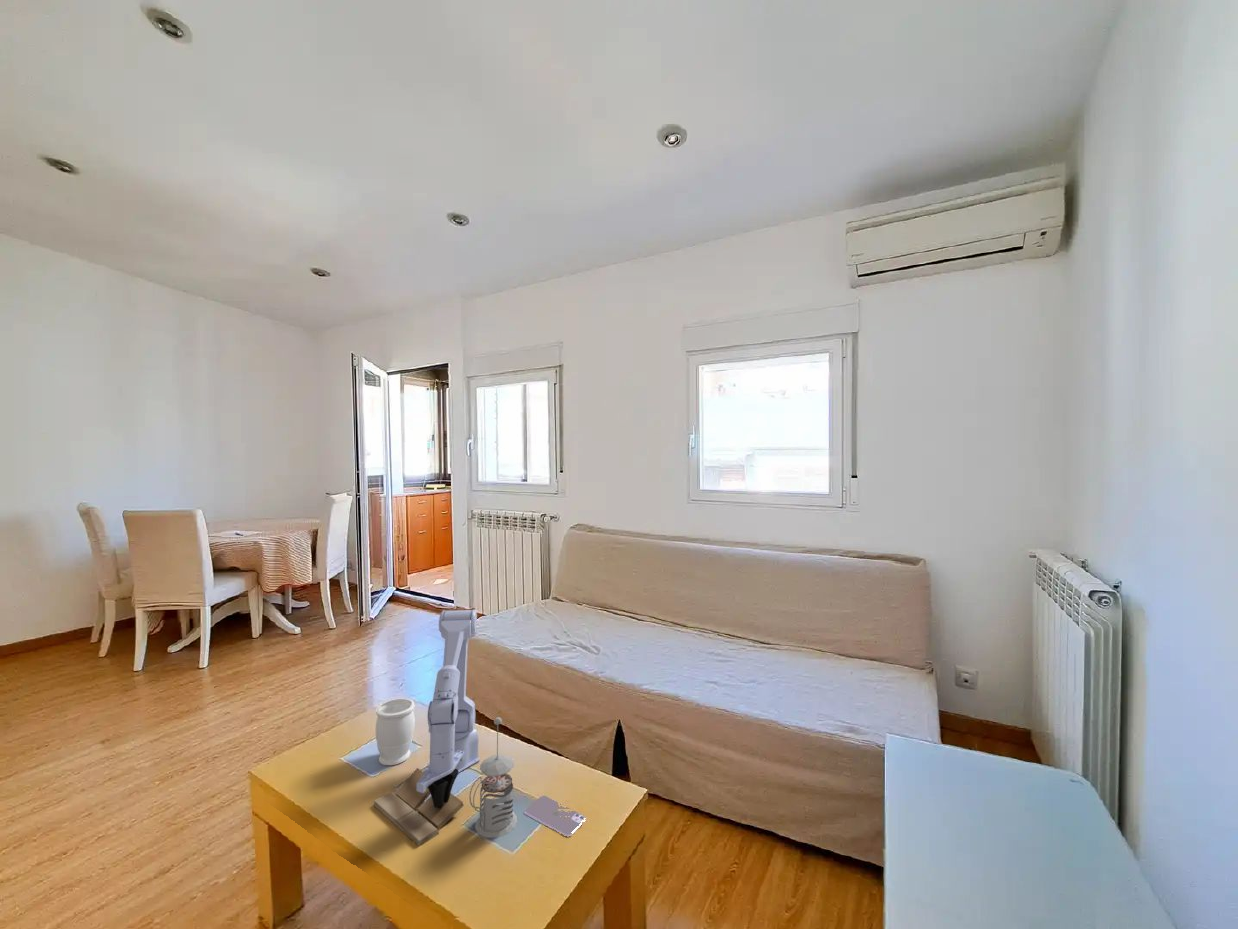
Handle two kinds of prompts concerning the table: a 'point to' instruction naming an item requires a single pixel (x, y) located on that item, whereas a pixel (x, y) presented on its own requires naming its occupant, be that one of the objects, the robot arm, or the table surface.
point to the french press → (495, 816)
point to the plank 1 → (412, 790)
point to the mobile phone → (555, 816)
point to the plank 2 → (440, 811)
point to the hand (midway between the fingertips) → (441, 804)
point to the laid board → (406, 818)
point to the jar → (395, 730)
